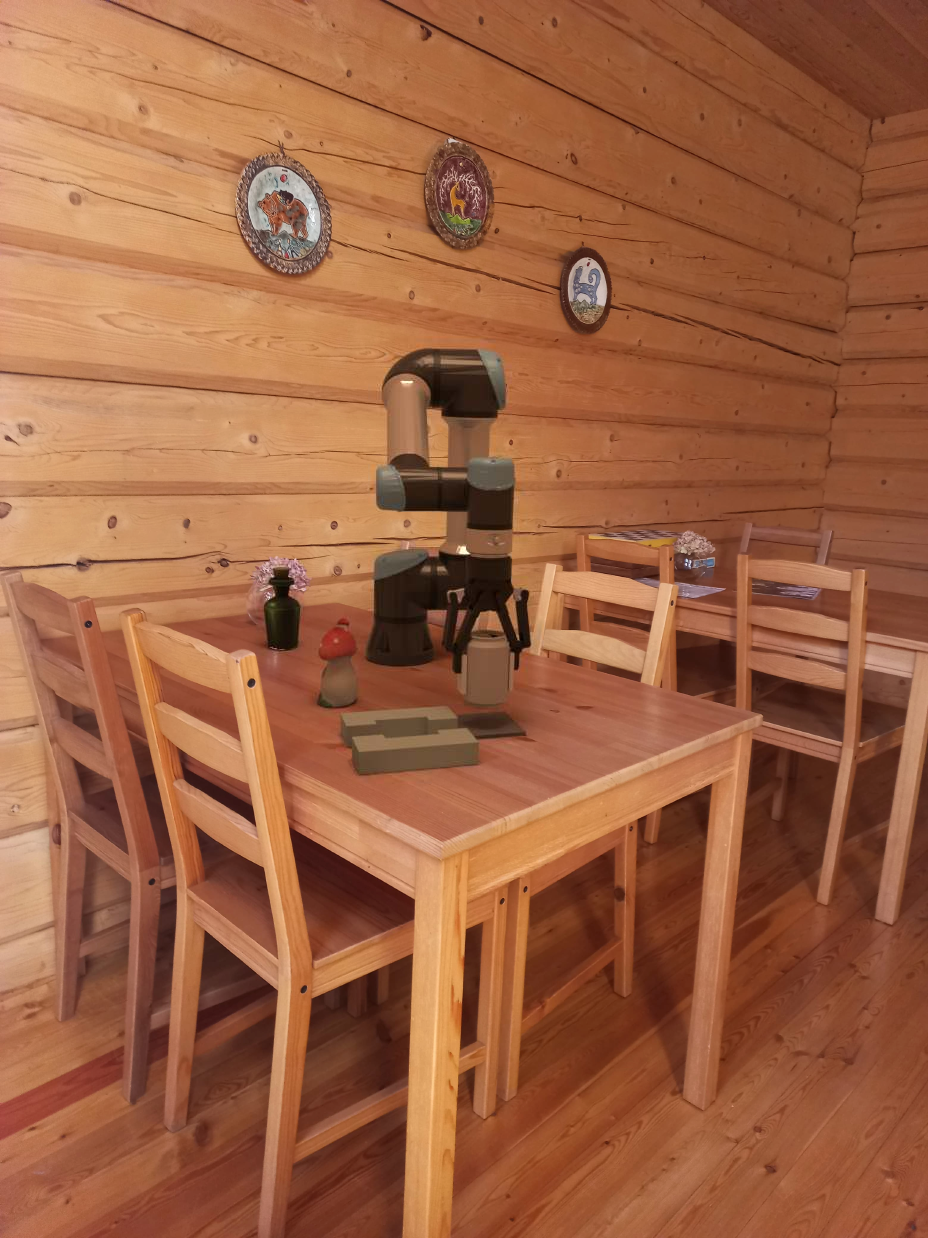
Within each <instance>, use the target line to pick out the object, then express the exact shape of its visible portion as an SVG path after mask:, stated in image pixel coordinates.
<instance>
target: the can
mask: <svg viewBox="0 0 928 1238" xmlns="http://www.w3.org/2000/svg"><path fill="white" fill-rule="evenodd" d="M509 650H510V647H509V642H508V641H507V639H506V634H505V633H504V631H500V630H494V629H493V630H492V629H478V630H472V631H471V634H470V636H469V639H468V641H467V644H466V646H465V648H464V651H463V652H464V653H465V654H466V655H467V689H466V694H462V698H463V700H464V701H466V703H467V704H468V705H470V706H472V707H475V708H483V709H484V708H486V709H491V708H497V707H500V706H502V705H503V704H504V703H505V702H506V701H508V698H509V695H508V693H509V691H508V668H509Z"/></svg>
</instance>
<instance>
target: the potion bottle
mask: <svg viewBox="0 0 928 1238" xmlns="http://www.w3.org/2000/svg"><path fill="white" fill-rule="evenodd" d="M290 571H291V567H288V566H275V567H274V566H273V567H272V572H273V573H272V574H273V577H270V578H268V579H269V580H268V583H267V584H268V585H270V586H272V588H273V591H274V596H273V597H271V598H269V599H268V600H266V601H265V603H264V604H263V613H264V614H263V615H264V622H265V628H266V629H265V631H266V639H267V640H266V641H267V647H268V646H269V647H273V648H277V649H291V648H295V647H296V648H297V647H298V646H299V632H300V621H301V620H300V619H301V604H300V602H299V601H298V600H297V599H295V598H294V597H293V596H290V595H289V594H290V589H291V586H293V585H295V584H296V581H295V580H294V579H295V578H293V577H292V576H290ZM269 647H268V648H269ZM296 648H295V649H296ZM291 650H292V649H291Z"/></svg>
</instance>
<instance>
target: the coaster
mask: <svg viewBox="0 0 928 1238" xmlns="http://www.w3.org/2000/svg"><path fill="white" fill-rule="evenodd" d="M455 715H456V717H457V718H458V729H461V728H467V729H468V730H469V731H470V733H471V734H472V735H473V736H474V737H475V738H476V739H477V740H481V739H482V740H483V739H495V738H497V739H498V738H507V737H520V736H527V731H526V730H525V729H524V728H523V727H522V726H521V725H520V724H519V723H518V722H517V721H516V720H515V719H513V718H512V717H511V716H510V714H508V713H507V712H506V710H505V711H503V710H502V711H491V712H477V713H463V714H461V713H460V714H455Z"/></svg>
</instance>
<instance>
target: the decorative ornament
mask: <svg viewBox="0 0 928 1238" xmlns="http://www.w3.org/2000/svg"><path fill="white" fill-rule="evenodd" d="M336 624H337V626H335V627H333V628H331V629H329V630H328V631H327V632H326V633H325V634H324V636H323V638H321V641H320V643H319V646H318V656H319V658H320V659H322V660H323V661H326V665H325V667H324V669H323V670H322V673H321V677H320V678H321V679H320V690H318V692H317V693H316V694H317V695H316V701H317V703H318V705H319V706H321V707H324V708H329V709H331V708H332V709H333V708H338V707H339V708H340V707H347V706H349V705H351V704H352V703H353V704H354V702H355V701H356V698H357V694H358V678H357V675H356V672H355V669H354V666H353V664H352V661H351V658H352V657H353V656H355V655H356V653H357V652H358V644H357V641H356V638H355V637H354V635H353V634H352V632H351V631H350V630H349V629H348V627H350V621H349V620H348V619H346V618H340V619H338V620H337V622H336Z"/></svg>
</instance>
